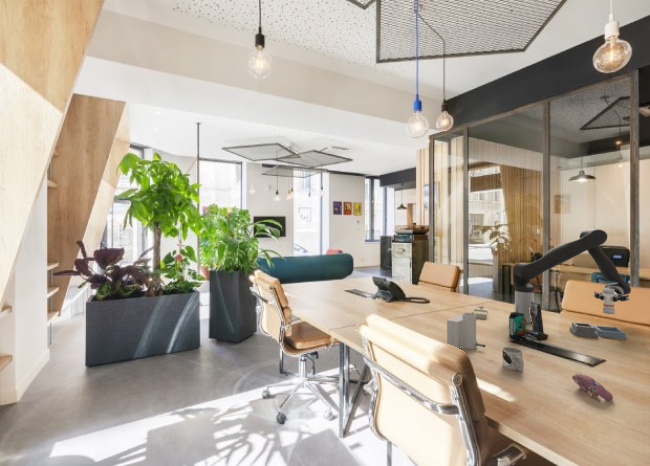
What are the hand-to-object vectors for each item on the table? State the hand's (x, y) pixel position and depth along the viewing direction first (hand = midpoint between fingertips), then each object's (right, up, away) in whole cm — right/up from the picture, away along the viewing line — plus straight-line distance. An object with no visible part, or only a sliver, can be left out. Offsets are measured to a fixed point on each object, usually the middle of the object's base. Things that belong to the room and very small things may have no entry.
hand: (607, 298), depth 155 cm
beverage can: (-45, -19, -1) cm, 49 cm away
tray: (+2, -18, +2) cm, 18 cm away
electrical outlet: (-42, -19, +41) cm, 62 cm away
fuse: (+2, -7, +2) cm, 8 cm away
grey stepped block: (-74, -20, -12) cm, 77 cm away
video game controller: (-53, -20, -53) cm, 78 cm away
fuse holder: (-9, -18, +4) cm, 21 cm away
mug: (-66, -20, -34) cm, 77 cm away
